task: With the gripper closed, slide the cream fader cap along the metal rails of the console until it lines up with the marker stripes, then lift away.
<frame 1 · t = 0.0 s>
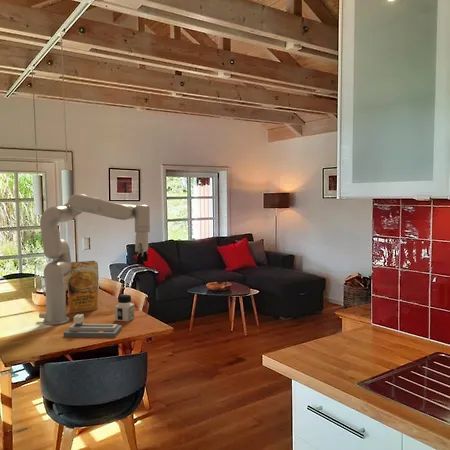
hand: (142, 262, 215), 31 cm above the table, tool pointing down, fingers open, 9 cm apart
pancake mix bag: (83, 310, 239), on the table
console: (93, 332, 200), on the table
fader: (78, 321, 200), point 5 cm above the table, slide at 0.0 cm
container: (124, 319, 223), on the table
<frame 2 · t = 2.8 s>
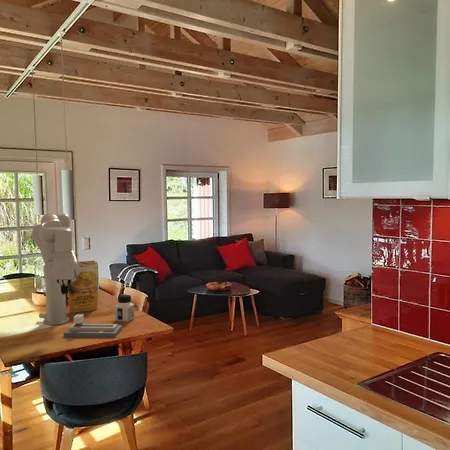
hand: (64, 293, 199), 19 cm above the table, tool pointing down, fingers closed
nothing on the table moved.
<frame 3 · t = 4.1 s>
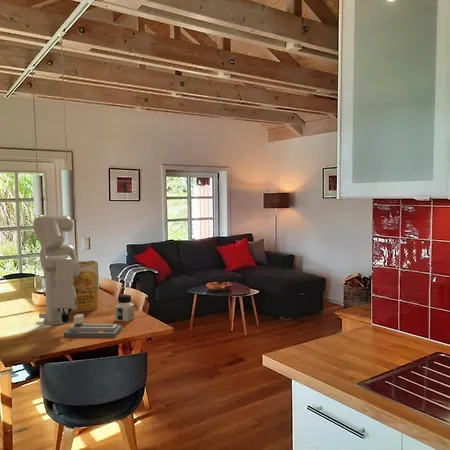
hand: (65, 321, 200), 5 cm above the table, tool pointing down, fingers closed
nothing on the table moved.
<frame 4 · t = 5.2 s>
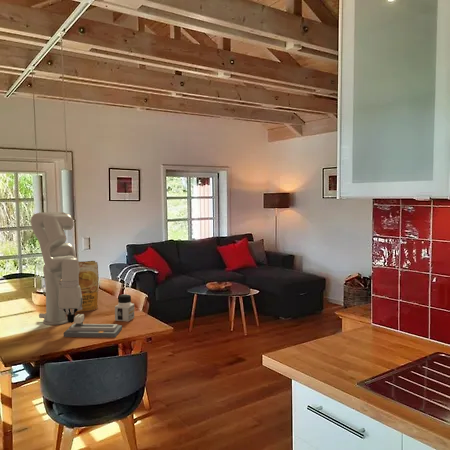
hand: (71, 322, 200), 5 cm above the table, tool pointing down, fingers closed
fader: (79, 321, 200), point 5 cm above the table, slide at 0.2 cm, touching gripper
everything else where it was.
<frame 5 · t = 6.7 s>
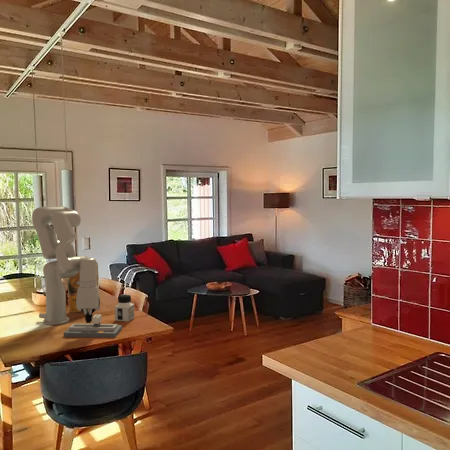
hand: (88, 322, 200), 5 cm above the table, tool pointing down, fingers closed
fader: (96, 321, 200), point 5 cm above the table, slide at 8.6 cm, touching gripper
everything else where it was.
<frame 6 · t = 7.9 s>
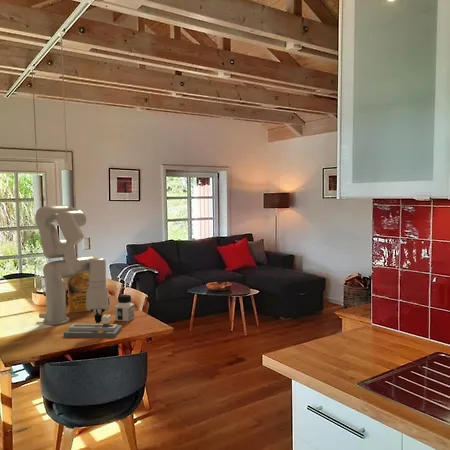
hand: (98, 322, 200), 5 cm above the table, tool pointing down, fingers closed
fader: (106, 322, 200), point 5 cm above the table, slide at 13.2 cm, touching gripper
everything else where it was.
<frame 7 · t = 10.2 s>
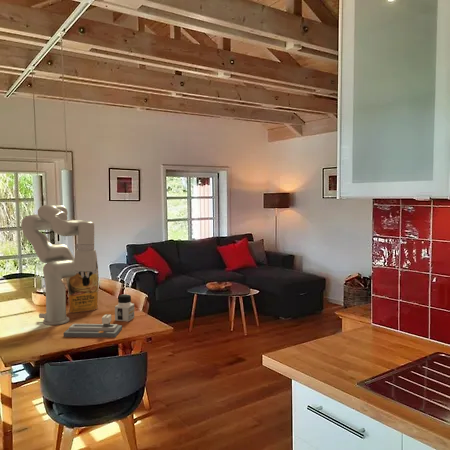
hand: (86, 285, 201), 22 cm above the table, tool pointing down, fingers closed
fader: (106, 322, 200), point 5 cm above the table, slide at 13.3 cm
everything else where it was.
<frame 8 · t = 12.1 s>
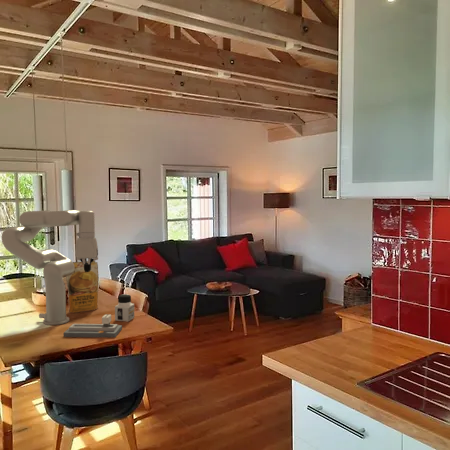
hand: (87, 271, 211), 27 cm above the table, tool pointing down, fingers closed
nothing on the table moved.
at the end: fader slide at 13.3 cm; the gripper is holding nothing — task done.
